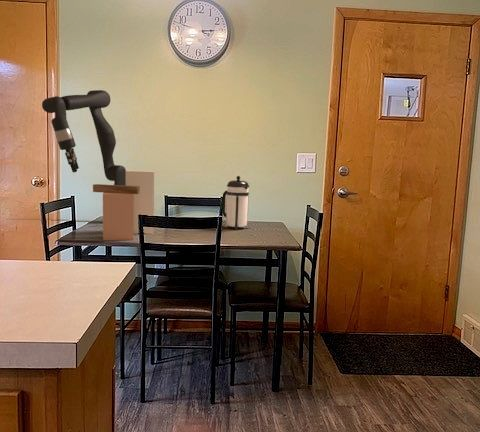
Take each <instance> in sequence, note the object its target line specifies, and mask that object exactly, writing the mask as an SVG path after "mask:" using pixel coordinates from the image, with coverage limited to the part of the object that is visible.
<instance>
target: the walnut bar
mask: <svg viewBox="0 0 480 432" xmlns="http://www.w3.org/2000/svg"><path fill="white" fill-rule="evenodd" d="M92 193H102V194H103V193H123V194H140V186H124V185H114V184H104V183H103V184H99V183H97V184H96V183H94V184H92Z"/></svg>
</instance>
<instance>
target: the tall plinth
mask: <svg viewBox="0 0 480 432" xmlns="http://www.w3.org/2000/svg"><path fill="white" fill-rule="evenodd" d="M126 186H140V194H134V235H139V234H138V215H139V214H141V215H148V216H155V215H154V213H155V211H154V210H155V209H154V208H155V205H154V204H155V171H154V170H139V169H136V170H135V169H126ZM154 230H155V229H154V228H144V233H145V235H154Z"/></svg>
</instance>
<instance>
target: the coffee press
mask: <svg viewBox="0 0 480 432" xmlns="http://www.w3.org/2000/svg"><path fill="white" fill-rule="evenodd" d="M235 179H236V180H234V179H233V180H230V181H228V183H227V184H226V188H227V190H225V191H224V192H223V194H222V198H221V212H222V215H223V217H224V218H225V223H224V225H225V226H223V228H225V229H227V227H232V228H234V231H238V228H246V229H250V226H249V223H248V218H249V217H248V214H249V195H250V192H249V188H250V185H249V183H248V182H247V181H246V180H241V176H240V175H237V176H236V178H235ZM247 226H248V227H247Z"/></svg>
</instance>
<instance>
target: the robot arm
mask: <svg viewBox="0 0 480 432" xmlns="http://www.w3.org/2000/svg"><path fill="white" fill-rule="evenodd" d="M110 103H111V95H110V94H109V93H108V91H106V90H102V89H98V90H97V89H96V90H89V91H87V94H72V95H71V94H68V95H63V96H61V97H60V96H58V95H57V96H56V95H55V96H52V97H48V98H45V99H44V100H42V103H41V107H42V109H43V110H44V112H46V113H48V114H54V118H52V119H51V125H52V128H53V131H54V134H55V138H56V141H57V144H58V146H59V150H61V151H65V152H64V155H65V157H66V160H67V164H68V165H69V166H70V168H71V173H77V172H78V169H79V168H80V167H79V164H78V160H77V159H78V158H77V155H76V152H75V149H74V148H75V147H76V146H77V145H76V142H75V138H74V135H73V133H72V130H71V128H70V126H69V123H68V120H67V111H73V110H74V111H75V110H79V109H80V110H81V109H85V108H88V109H89V112H90V114H91V118H92V120H93V123H94V128H95V132H96V137H97V141H98V145H99V148H100V153H101V157H102V158H101V159H102V165H103V171H104V177H105V178H106V179H107V181H110V182H114V183H113V185H124V186H126V170H127V169H126V168H125V166H124V165H118V164H115V162H114V155H113V154H114V151H115V148H116V144H117V141H116V140H117V139H116V136H115V131H114V129H113V126H111V125H110V123H109V122H108V121H107V119H106V118H105V117H104V114H103V110H102V109H104V108H107V107H108V106H110V105H111V104H110Z"/></svg>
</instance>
